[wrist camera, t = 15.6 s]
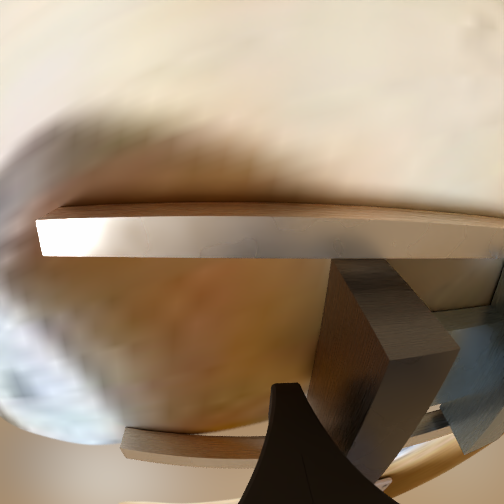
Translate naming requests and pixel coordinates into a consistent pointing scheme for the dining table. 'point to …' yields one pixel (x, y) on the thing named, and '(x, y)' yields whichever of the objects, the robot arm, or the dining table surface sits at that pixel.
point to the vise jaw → (403, 365)
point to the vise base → (260, 246)
